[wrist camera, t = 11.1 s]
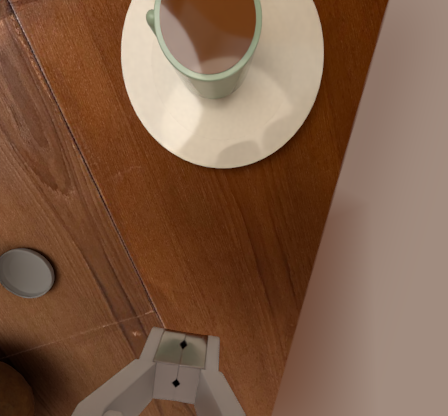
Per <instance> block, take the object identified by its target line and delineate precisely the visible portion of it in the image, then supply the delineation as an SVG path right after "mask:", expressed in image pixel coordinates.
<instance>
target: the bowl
mask: <svg viewBox="0 0 448 416" xmlns="http://www.w3.org/2000/svg"><path fill="white" fill-rule="evenodd" d="M34 414H35V406H34V395H33V391H32V388H31V387H30V386H29V385H28V383H27V382H26V380H25V378H24V377H23V376H22V375H21V374H20V373H19V372H17V371H16V370H15V369H14V368H13V367H12V366H10V365H8V364H6V363H3V362H1V361H0V416H34Z"/></svg>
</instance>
